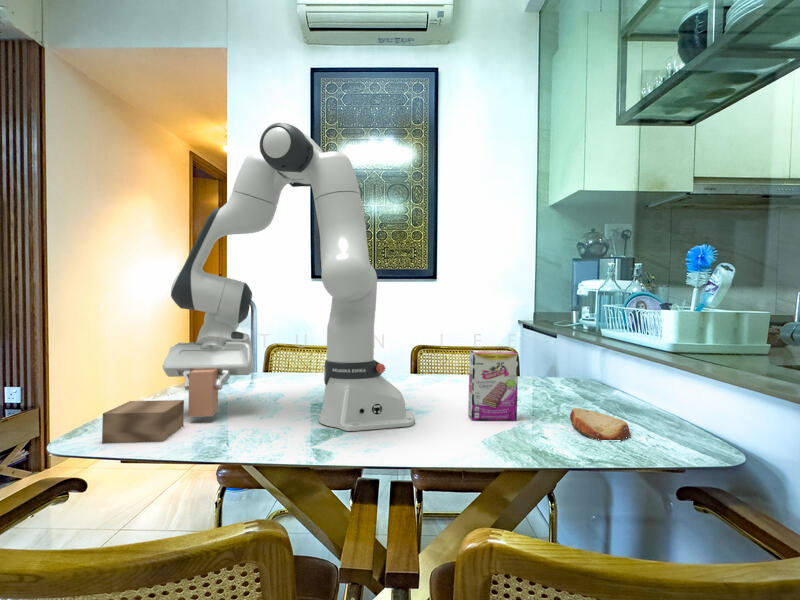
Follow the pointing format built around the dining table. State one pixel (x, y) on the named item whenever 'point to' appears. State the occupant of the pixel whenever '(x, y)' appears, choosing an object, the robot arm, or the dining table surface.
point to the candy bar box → (493, 385)
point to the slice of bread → (599, 425)
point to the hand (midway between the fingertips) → (203, 388)
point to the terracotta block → (203, 392)
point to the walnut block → (142, 421)
